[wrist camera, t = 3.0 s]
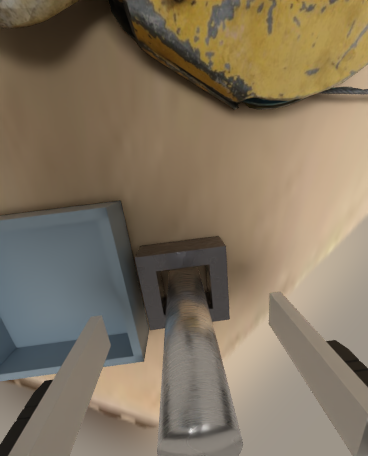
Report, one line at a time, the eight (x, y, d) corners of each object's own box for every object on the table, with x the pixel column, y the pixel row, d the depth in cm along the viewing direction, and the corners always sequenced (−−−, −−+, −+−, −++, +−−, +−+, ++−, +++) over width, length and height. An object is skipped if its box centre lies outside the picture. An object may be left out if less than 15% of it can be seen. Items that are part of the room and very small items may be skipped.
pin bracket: (140, 246, 17) (134, 257, 15) (218, 236, 17) (225, 246, 15) (153, 310, 19) (150, 330, 17) (222, 301, 19) (229, 319, 17)
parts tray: (-47, 221, 15) (-109, 233, 12) (120, 200, 16) (105, 207, 12) (18, 347, 20) (-15, 383, 16) (149, 330, 20) (143, 361, 16)
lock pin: (166, 263, 18) (150, 428, 6) (198, 259, 18) (241, 415, 6) (170, 290, 18) (164, 478, 7) (201, 286, 19) (243, 467, 7)
